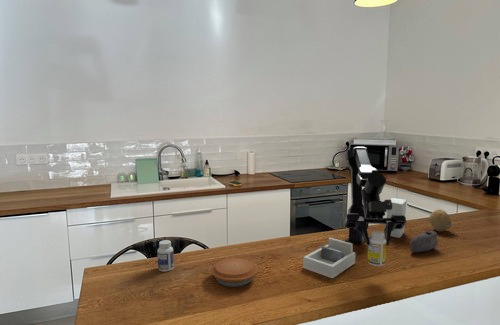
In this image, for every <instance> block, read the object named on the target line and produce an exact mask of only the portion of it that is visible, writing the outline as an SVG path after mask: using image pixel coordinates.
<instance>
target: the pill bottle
mask: <svg viewBox="0 0 500 325" xmlns="http://www.w3.org/2000/svg"><path fill="white" fill-rule="evenodd" d="M158 246H159V247H158V249H157V267H158V268H157V269H158V270H159V271H161V272H163V273H164V272H170V271H171V270H174V268H175V264H174V263H175V262H174V257H175V256H174V248H173V246H172V242H171V240H168V239H166V240H165V239H164V240H161V241H159V243H158Z"/></svg>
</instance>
